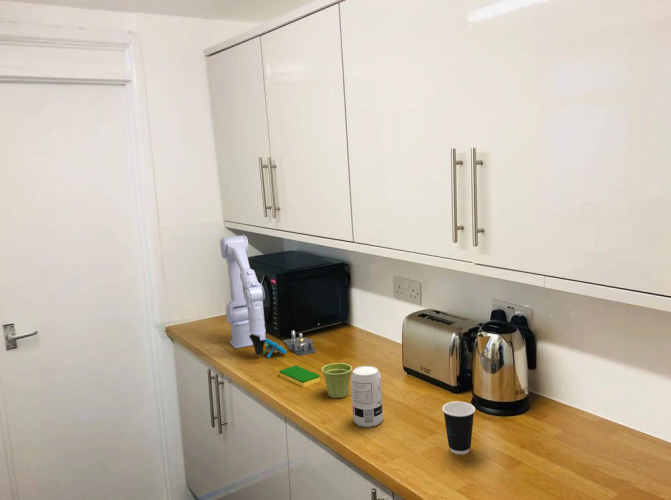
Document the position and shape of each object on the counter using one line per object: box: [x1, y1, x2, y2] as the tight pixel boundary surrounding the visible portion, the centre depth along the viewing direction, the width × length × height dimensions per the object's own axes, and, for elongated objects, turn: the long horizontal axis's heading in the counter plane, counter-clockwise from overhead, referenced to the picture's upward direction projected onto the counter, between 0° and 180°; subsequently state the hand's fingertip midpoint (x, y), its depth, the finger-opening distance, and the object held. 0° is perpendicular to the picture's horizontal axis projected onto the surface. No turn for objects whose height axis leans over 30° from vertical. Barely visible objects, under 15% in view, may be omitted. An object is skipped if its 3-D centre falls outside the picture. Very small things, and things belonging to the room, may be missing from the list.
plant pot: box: [321, 362, 353, 399], centre depth 183 cm, size 9×9×9 cm
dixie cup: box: [442, 400, 476, 456], centre depth 146 cm, size 8×8×11 cm
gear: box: [262, 337, 287, 359], centre depth 221 cm, size 11×6×10 cm
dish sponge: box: [279, 365, 321, 388], centre depth 199 cm, size 7×14×2 cm, turn 39°
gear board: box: [282, 330, 317, 356], centre depth 230 cm, size 18×9×6 cm, turn 23°
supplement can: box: [350, 365, 384, 428], centre depth 163 cm, size 8×8×15 cm
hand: (259, 353), depth 220 cm, fingers closed, pressing on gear
